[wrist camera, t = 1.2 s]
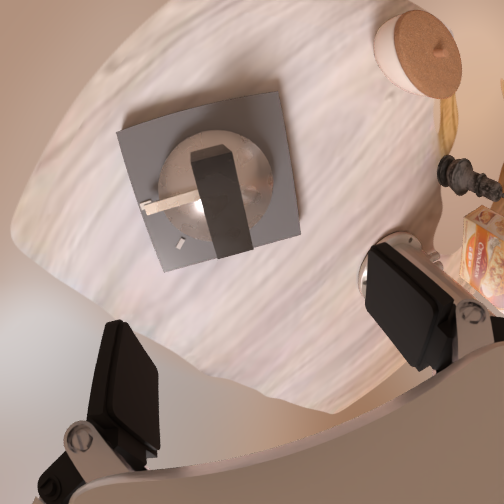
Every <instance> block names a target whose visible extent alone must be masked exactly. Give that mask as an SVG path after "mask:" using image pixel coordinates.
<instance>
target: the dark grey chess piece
mask: <svg viewBox="0 0 504 504" xmlns="http://www.w3.org/2000/svg"><path fill="white" fill-rule="evenodd" d="M437 177H438V181H439V183H440V184H441V185H442V186H444V187H448V186H449V187H450V188H451V189H452V190H453V191H454V192H455V193H456V194H457V195H459V196H462V195H464V194H466V192H467V191H468V190H469V191H472V192H474V193H476V195H477V196H478V197H482V196H484V197H486V198H488V199H490V200H492V201H494V202H497V201H499V200H500V198H501V197H503V198H504V193H502V186H501V185H500V183H498V182H496V181H494V180H492V179H489V178H487V176H486V175H485V174H484V173H482V174H479V173H476V172H474V171H473V168H472V165H471V162H470V161H469V160H468V159H466V158H463V159H457V160H455V159H454V158H453V156H451V155H446V156H444V157H443V158H442V159H441V161H440V163H439V165H438V169H437Z"/></svg>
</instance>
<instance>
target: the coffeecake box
mask: <svg viewBox="0 0 504 504" xmlns="http://www.w3.org/2000/svg"><path fill="white" fill-rule="evenodd" d="M460 277H462V278H463V279H464V280H465V281H466V282H468V283H469V284H470V285H471V286H472V287H474V288H475V289H476V290H477V291H478V292H479V293H481V294H482V295H483V296H484V297H485V298H486V299H487V300H488V301H489V302H491V303H492V304H493V305H494V306H495V307H496V308H497V309H498V310H499V311H500V312H501V313H503V314H504V217H503V216H501V215H500V214H498V213H496V212H494V211H492V210H491V209H489V208H487V207H485V206H483V205H481V206H480V207H479V208H477V209H476V210H474V211H472V212H471V213H469V214H468V215H466V216H465V217H464V230H463V248H462V260H461V269H460Z"/></svg>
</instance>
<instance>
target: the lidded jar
mask: <svg viewBox="0 0 504 504" xmlns="http://www.w3.org/2000/svg"><path fill="white" fill-rule="evenodd" d="M374 55H375V59H376V62H377V64H378V66H379V68H380V69H381V71H382V72H383V74H384V75H385V76H386V77H387V78H388V79H389V80H390V81H391V82H392V83H393V84H394V85H396V86H397V87H399V88H401V89H402V90H404V91H407V92H409V93H412V94H416V95H420V96H426V97H432V98H436V99H446V98H449V97H451V96H452V95H453V94H454V93H455V92H456V91H457V89H458V87H459V85H460V81H461V76H462V64H461V58H460V54H459V50H458V48H457V45H456V43H455V41H454V39H453V37H452V35H451V34H450V32H449V31H448V29H447V28H446V27H445V26H444V24H443V23H442V22H441V21H440V20H438V19H437V18H436V17H434V16H433V15H431V14H429V13H427V12H425V11H421V10H412V11H408V12H406V13H404V14H401V15H398V16H395V17H393V18H391V19H390V20H388V21H386V22H385V23H384V24H383V25H382V26H381V27H380V28H379V30H378V31H377V33H376V36H375V40H374Z"/></svg>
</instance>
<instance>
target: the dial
mask: <svg viewBox="0 0 504 504" xmlns="http://www.w3.org/2000/svg"><path fill="white" fill-rule="evenodd" d="M272 192H273V175H272V171H271V167H270V165H269V162H268V160H267V158H266V157H265V155H264V154H263V152H262V151H261V150H260V148H258V147H257V146H256V145H255V144H254V143H253V142H252V141H250V140H249V139H247V138H245V137H243V136H242V135H239V134H236V133H233V132H230V131H225V130H208V131H202V132H199V133H196V134H194V135H192V136H190V137H188V138H186V139H185V140H183V141H182V142H180V143H179V144H178V145H177V146H176V147H175V148H174V149H173V150H172V151H171V153H170V154H169V156H168V157H167V159H166V161H165V163H164V165H163V167H162V170H161V173H160V177H159V182H158V193H159V200H156V201H153V202H150V203H147V204H144V208H145V211H146V214H147V215H150V214H153V213H157V212H160V211H164V213H165V215H166V217H167V218H168V219H169V221H170V222H171V223H172V224H173V225H174V226H175V227H176V228H177V229H178V230H180V231H181V232H182V233H184V234H186V235H188V236H190V237H192V238H195V239H198V240H203V241H212V242H213V245H214V249H215V252H216V256H217V259H221V258H224V257H228V256H231V255H235V254H239V253H242V252H246V251H249V250H253V244H252V240H251V235H250V229H251V228H252V227H253V226H255V225H256V224H257V223H258V222H259V220H260V219H261V218H262V217H263V215H264V214H265V212H266V210H267V208H268V206H269V204H270V201H271V197H272Z"/></svg>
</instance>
